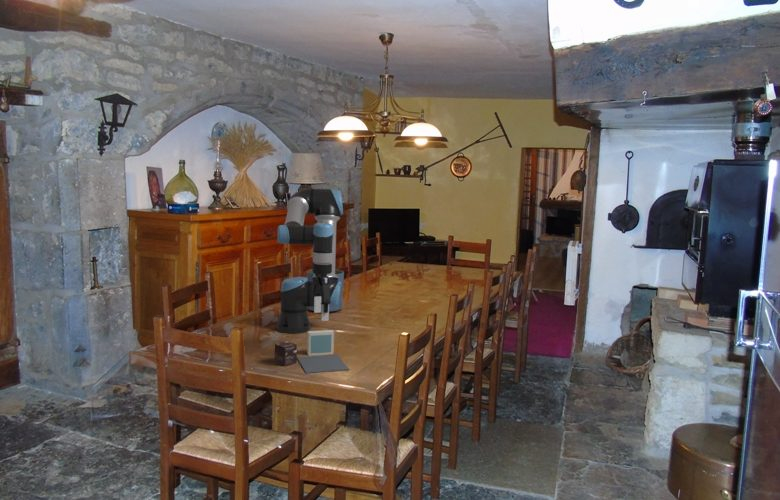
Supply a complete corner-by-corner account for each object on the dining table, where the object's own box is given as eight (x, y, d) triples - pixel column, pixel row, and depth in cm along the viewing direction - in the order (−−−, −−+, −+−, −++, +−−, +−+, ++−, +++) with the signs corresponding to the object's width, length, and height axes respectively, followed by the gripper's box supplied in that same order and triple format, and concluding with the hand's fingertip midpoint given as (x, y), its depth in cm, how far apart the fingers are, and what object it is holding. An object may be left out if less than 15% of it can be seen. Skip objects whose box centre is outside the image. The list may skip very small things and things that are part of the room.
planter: (323, 316, 306) (324, 276, 303) (298, 309, 318) (298, 270, 316) (350, 310, 320) (351, 272, 317) (325, 303, 332) (326, 267, 330)
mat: (297, 358, 239) (297, 357, 238) (337, 355, 244) (337, 354, 244) (306, 373, 222) (306, 372, 222) (349, 370, 227) (349, 369, 227)
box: (284, 366, 228) (284, 347, 227) (273, 362, 232) (274, 343, 231) (296, 363, 233) (297, 344, 232) (286, 359, 237) (286, 340, 236)
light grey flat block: (307, 353, 245) (307, 331, 244) (331, 351, 249) (332, 330, 247) (308, 355, 242) (309, 333, 241) (333, 354, 246) (334, 332, 244)
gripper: (306, 258, 251) (305, 309, 254) (319, 268, 228) (318, 324, 230) (324, 258, 253) (323, 309, 256) (339, 268, 230) (338, 323, 233)
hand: (321, 316), depth 243 cm, fingers open, 13 cm apart
